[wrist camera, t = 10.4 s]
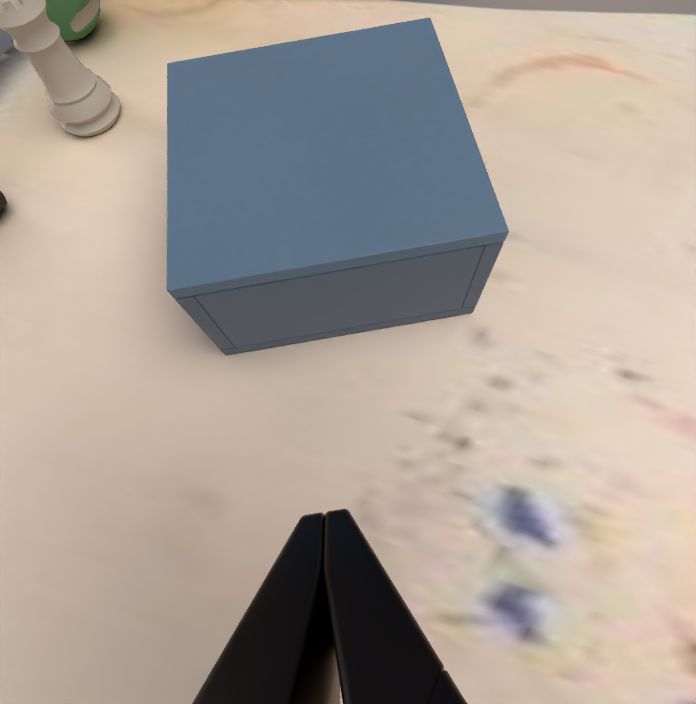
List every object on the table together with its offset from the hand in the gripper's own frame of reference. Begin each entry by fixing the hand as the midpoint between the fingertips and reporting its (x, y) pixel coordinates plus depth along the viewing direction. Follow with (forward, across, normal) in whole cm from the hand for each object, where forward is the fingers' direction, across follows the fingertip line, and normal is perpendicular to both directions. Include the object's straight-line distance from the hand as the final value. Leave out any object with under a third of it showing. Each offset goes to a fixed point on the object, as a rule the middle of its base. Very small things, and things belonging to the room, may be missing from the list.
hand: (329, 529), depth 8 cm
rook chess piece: (+30, +15, -12) cm, 36 cm away
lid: (+16, -1, -7) cm, 18 cm away
